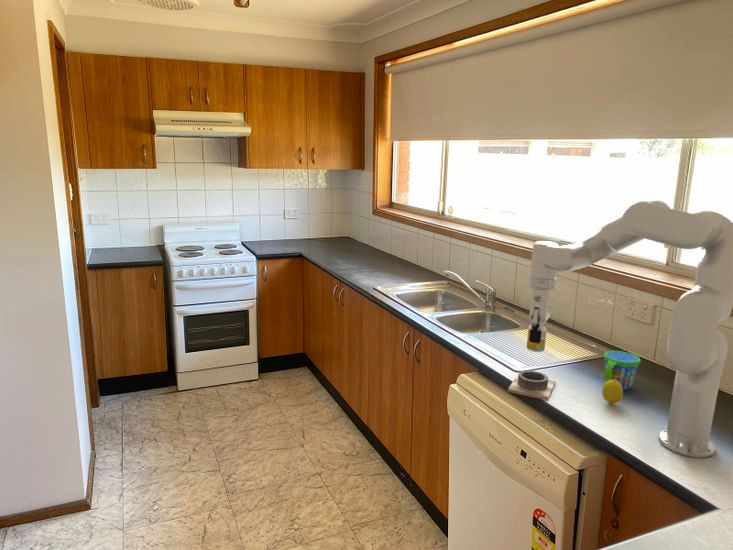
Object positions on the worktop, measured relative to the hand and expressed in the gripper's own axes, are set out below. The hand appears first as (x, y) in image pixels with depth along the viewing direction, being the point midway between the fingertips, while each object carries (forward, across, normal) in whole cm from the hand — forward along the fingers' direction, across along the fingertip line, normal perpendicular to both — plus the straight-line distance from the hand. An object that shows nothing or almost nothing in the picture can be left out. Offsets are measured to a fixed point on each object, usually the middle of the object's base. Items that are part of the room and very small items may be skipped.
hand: (536, 338), depth 172 cm
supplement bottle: (+4, 0, 0) cm, 4 cm away
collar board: (+16, 0, 0) cm, 16 cm away
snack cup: (+16, +16, -24) cm, 33 cm away
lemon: (+16, 0, -23) cm, 28 cm away
